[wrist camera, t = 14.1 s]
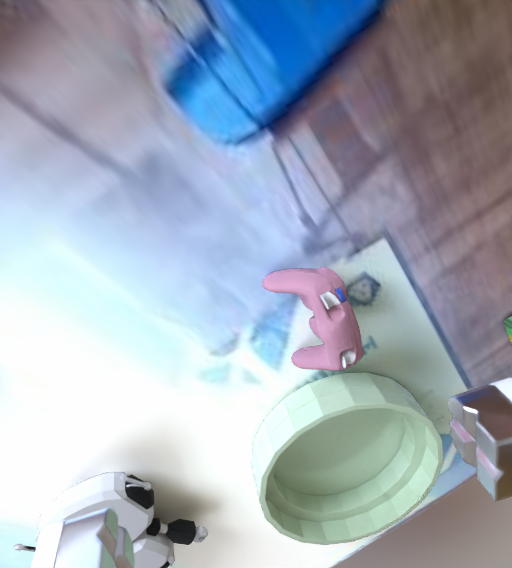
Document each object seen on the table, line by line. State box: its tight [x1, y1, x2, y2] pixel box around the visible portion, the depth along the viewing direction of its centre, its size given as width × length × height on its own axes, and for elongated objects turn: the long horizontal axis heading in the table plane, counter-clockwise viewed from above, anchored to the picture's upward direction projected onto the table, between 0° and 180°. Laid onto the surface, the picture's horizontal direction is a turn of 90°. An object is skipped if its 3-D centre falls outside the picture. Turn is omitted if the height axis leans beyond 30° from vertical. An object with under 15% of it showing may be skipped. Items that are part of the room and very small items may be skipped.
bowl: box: [251, 372, 443, 545], centre depth 47 cm, size 18×18×5 cm
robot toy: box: [13, 472, 208, 568], centre depth 46 cm, size 12×4×15 cm
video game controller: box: [262, 267, 364, 371], centre depth 39 cm, size 10×5×7 cm, turn 20°
